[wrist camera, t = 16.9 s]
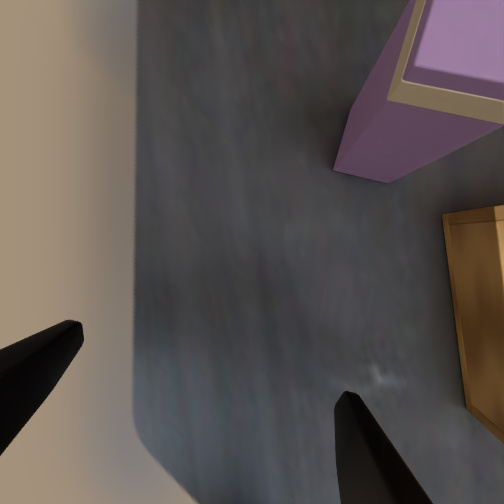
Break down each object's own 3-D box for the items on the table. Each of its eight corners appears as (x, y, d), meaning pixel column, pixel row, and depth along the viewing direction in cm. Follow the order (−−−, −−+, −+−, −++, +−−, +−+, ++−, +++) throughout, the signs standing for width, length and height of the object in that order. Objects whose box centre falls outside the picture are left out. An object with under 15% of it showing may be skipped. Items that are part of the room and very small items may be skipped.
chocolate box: (389, 184, 18) (569, 95, 7) (332, 171, 19) (412, 65, 7) (409, 120, 18) (633, -85, 7) (350, 108, 18) (464, -106, 7)
